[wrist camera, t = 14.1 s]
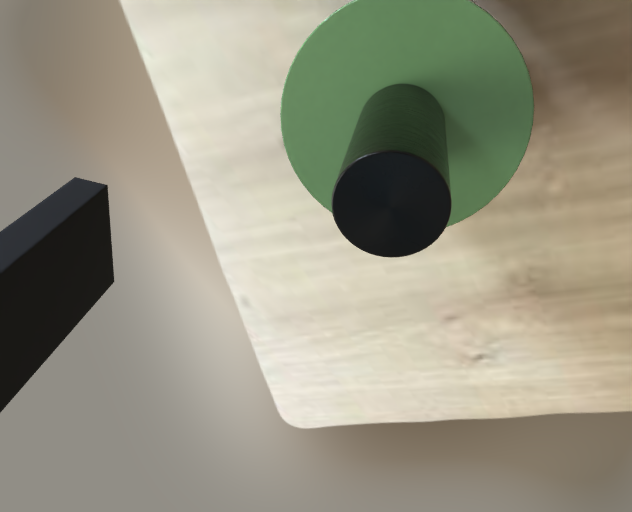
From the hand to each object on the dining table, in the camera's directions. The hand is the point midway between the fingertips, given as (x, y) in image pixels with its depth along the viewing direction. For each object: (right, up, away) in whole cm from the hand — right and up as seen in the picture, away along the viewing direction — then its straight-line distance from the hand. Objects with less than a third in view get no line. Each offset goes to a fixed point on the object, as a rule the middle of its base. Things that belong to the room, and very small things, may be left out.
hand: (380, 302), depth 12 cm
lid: (+3, +7, +13) cm, 15 cm away
